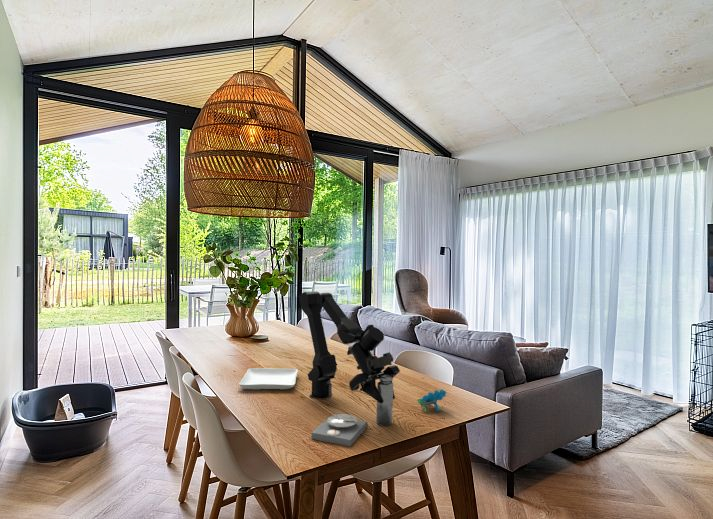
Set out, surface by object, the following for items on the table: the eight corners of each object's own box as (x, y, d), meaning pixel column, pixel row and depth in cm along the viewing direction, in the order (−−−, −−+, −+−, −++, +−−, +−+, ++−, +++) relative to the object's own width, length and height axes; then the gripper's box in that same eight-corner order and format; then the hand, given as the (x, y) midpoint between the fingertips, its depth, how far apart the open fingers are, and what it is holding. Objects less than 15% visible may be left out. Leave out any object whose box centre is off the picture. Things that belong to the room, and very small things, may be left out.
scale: (311, 438, 125) (311, 430, 125) (331, 420, 138) (331, 413, 138) (350, 446, 120) (350, 438, 120) (366, 427, 134) (367, 420, 134)
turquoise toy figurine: (440, 398, 157) (448, 385, 149) (447, 413, 153) (456, 401, 146) (412, 405, 153) (419, 392, 146) (418, 421, 150) (426, 408, 142)
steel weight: (374, 424, 136) (375, 378, 135) (379, 418, 141) (380, 374, 140) (389, 426, 134) (391, 380, 134) (393, 420, 139) (395, 376, 138)
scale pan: (322, 424, 128) (322, 422, 128) (334, 413, 136) (334, 412, 136) (350, 429, 125) (350, 427, 125) (361, 418, 133) (361, 416, 133)
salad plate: (294, 392, 164) (294, 383, 164) (238, 392, 163) (238, 383, 163) (298, 376, 186) (298, 368, 185) (248, 376, 184) (248, 368, 184)
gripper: (356, 349, 133) (381, 394, 125) (396, 341, 146) (421, 381, 138) (339, 368, 139) (361, 412, 131) (379, 359, 152) (402, 399, 144)
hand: (388, 400), depth 136 cm, fingers closed on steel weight, 5 cm apart
